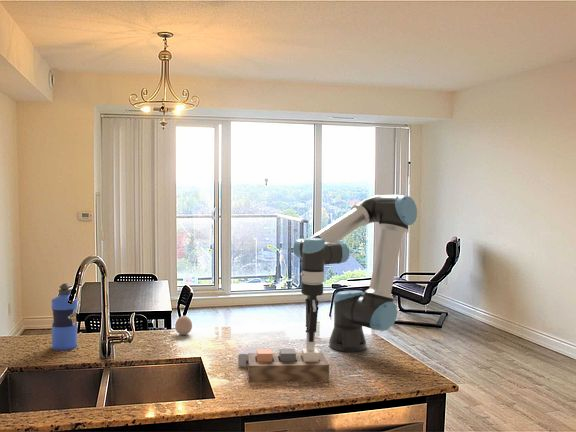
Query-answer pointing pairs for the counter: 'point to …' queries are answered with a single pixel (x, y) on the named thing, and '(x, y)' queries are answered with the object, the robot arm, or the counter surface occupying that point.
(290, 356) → the key graphite
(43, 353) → the counter surface
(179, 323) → the egg
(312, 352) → the key ivory
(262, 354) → the key terracotta
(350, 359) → the counter surface
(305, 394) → the counter surface
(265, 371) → the console
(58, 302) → the water bottle
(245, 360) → the charger
